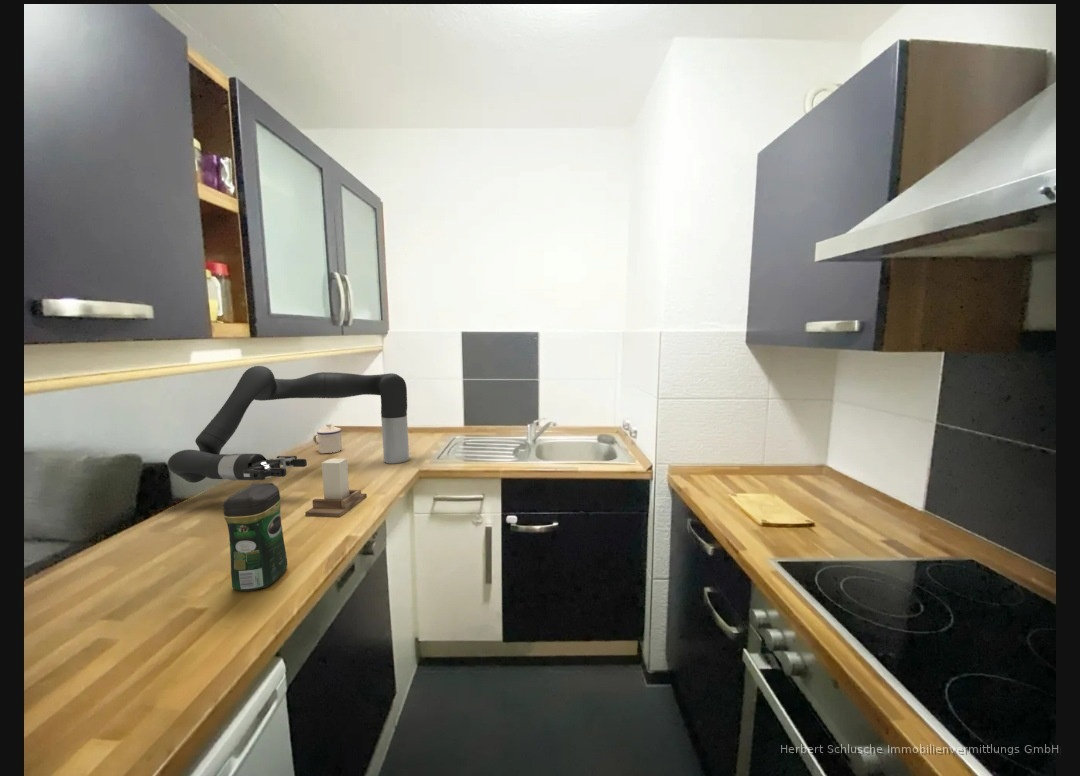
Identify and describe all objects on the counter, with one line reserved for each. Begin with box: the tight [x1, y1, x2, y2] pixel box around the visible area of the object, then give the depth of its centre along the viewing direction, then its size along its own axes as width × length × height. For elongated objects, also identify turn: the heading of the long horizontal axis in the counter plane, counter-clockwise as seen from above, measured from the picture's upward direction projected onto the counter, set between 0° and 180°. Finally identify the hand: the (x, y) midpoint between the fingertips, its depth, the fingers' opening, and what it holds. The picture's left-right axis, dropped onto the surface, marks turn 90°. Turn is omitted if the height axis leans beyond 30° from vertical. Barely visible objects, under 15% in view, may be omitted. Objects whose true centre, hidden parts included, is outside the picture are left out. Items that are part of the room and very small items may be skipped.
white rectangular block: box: [321, 458, 350, 499], centre depth 118 cm, size 4×5×12 cm
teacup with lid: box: [312, 423, 343, 454], centre depth 175 cm, size 12×9×12 cm
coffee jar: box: [222, 482, 288, 592], centre depth 82 cm, size 10×8×19 cm
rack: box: [304, 489, 368, 518], centre depth 118 cm, size 14×10×3 cm
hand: (296, 467), depth 119 cm, fingers open, 8 cm apart
